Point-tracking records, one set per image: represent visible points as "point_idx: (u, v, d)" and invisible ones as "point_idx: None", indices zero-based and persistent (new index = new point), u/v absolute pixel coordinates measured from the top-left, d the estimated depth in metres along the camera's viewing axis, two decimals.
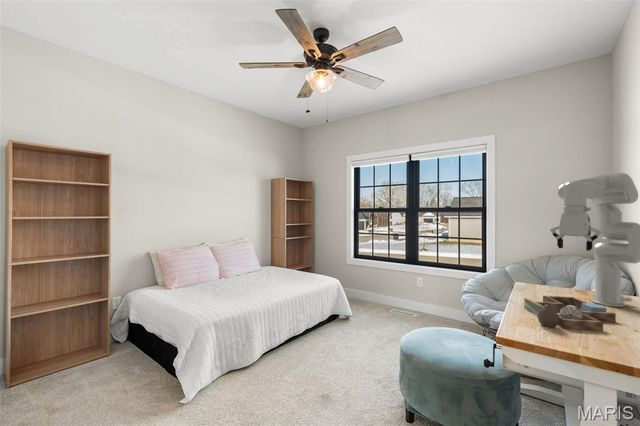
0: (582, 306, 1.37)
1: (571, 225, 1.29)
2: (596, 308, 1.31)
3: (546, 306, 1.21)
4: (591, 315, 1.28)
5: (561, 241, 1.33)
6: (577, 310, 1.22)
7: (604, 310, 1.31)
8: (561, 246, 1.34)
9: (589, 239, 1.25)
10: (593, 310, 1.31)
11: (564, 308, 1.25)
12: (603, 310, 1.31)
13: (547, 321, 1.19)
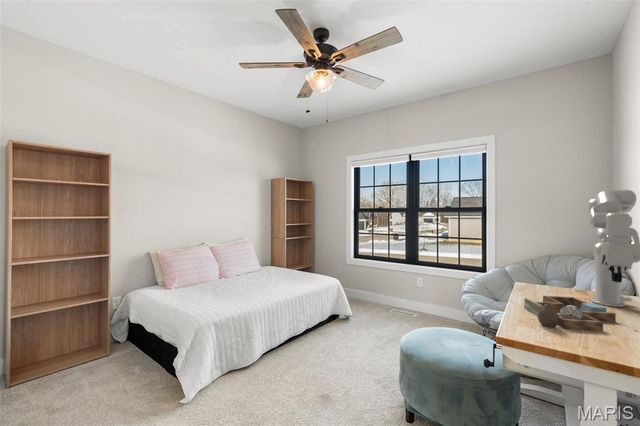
0: (582, 306, 1.37)
1: (620, 256, 1.30)
2: (596, 308, 1.31)
3: (546, 306, 1.21)
4: (591, 315, 1.28)
5: None
6: (577, 310, 1.22)
7: (604, 310, 1.31)
8: None
9: (622, 271, 1.31)
10: (593, 310, 1.31)
11: (564, 308, 1.25)
12: (603, 310, 1.31)
13: (547, 321, 1.19)
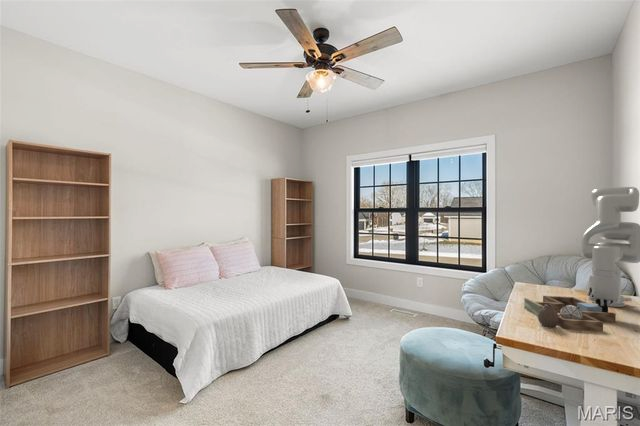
0: (578, 306, 1.37)
1: (606, 289, 1.31)
2: (592, 307, 1.31)
3: (546, 306, 1.21)
4: (591, 315, 1.28)
5: None
6: (577, 310, 1.22)
7: (600, 309, 1.31)
8: None
9: (608, 304, 1.32)
10: (589, 309, 1.32)
11: (564, 308, 1.25)
12: (599, 309, 1.31)
13: (547, 321, 1.19)
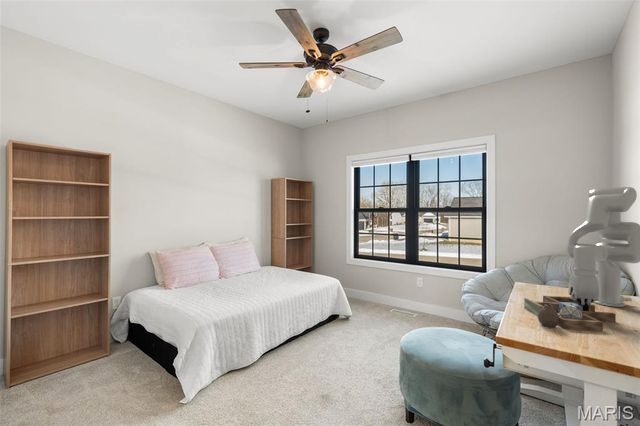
0: (559, 305, 1.38)
1: (587, 288, 1.32)
2: None
3: (546, 306, 1.21)
4: (591, 315, 1.28)
5: None
6: (577, 310, 1.22)
7: (580, 309, 1.32)
8: None
9: (589, 303, 1.33)
10: None
11: (564, 308, 1.25)
12: (579, 309, 1.32)
13: (547, 321, 1.19)
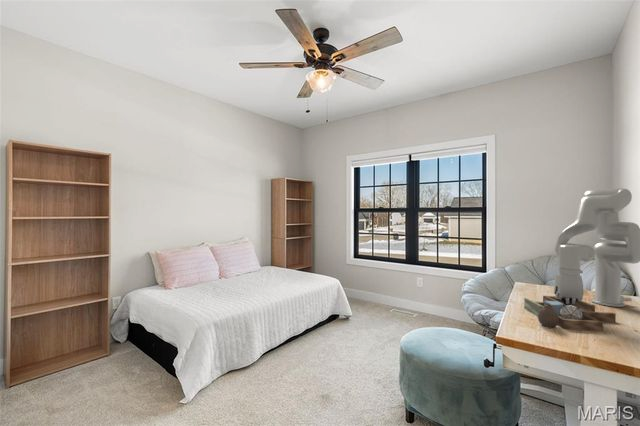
0: None
1: (571, 288, 1.33)
2: (557, 305, 1.34)
3: (546, 306, 1.21)
4: (591, 315, 1.28)
5: None
6: (577, 310, 1.22)
7: None
8: None
9: (573, 302, 1.34)
10: (554, 307, 1.34)
11: (564, 308, 1.25)
12: None
13: (547, 321, 1.19)
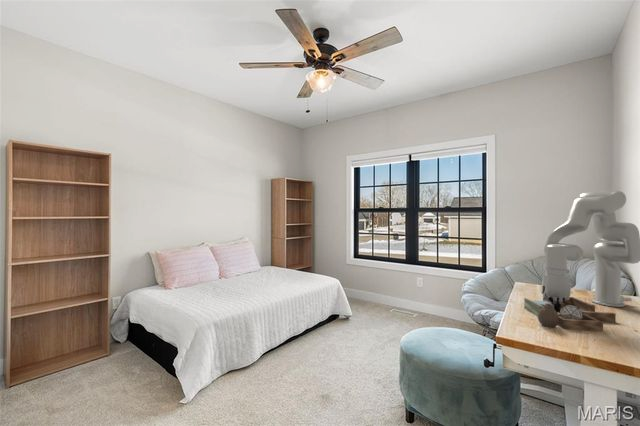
0: None
1: (558, 287, 1.34)
2: None
3: (546, 306, 1.21)
4: (591, 315, 1.28)
5: None
6: (577, 310, 1.22)
7: None
8: None
9: (560, 302, 1.35)
10: None
11: (564, 308, 1.25)
12: None
13: (547, 321, 1.19)
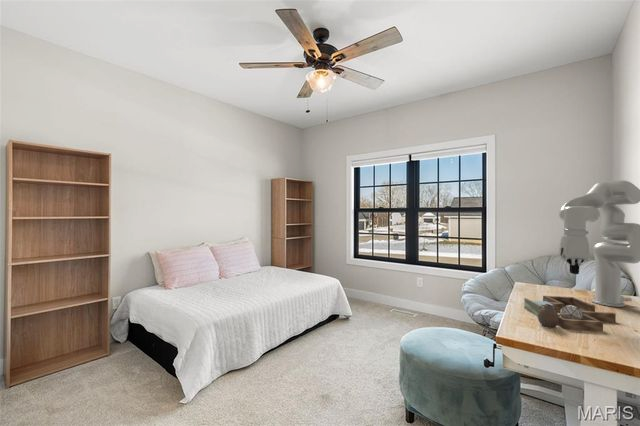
0: None
1: (577, 248, 1.33)
2: None
3: (546, 306, 1.21)
4: (591, 315, 1.28)
5: None
6: (577, 310, 1.22)
7: None
8: None
9: (579, 263, 1.34)
10: None
11: (564, 308, 1.25)
12: None
13: (547, 321, 1.19)
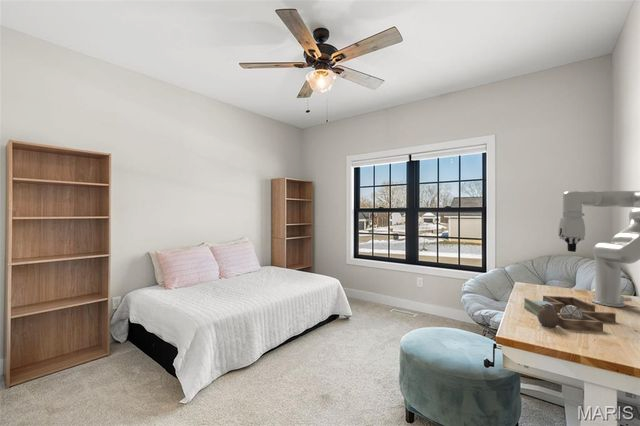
0: None
1: (574, 228, 1.49)
2: None
3: (546, 306, 1.21)
4: (591, 315, 1.28)
5: None
6: (577, 310, 1.22)
7: None
8: None
9: (576, 242, 1.50)
10: None
11: (564, 308, 1.25)
12: None
13: (547, 321, 1.19)
